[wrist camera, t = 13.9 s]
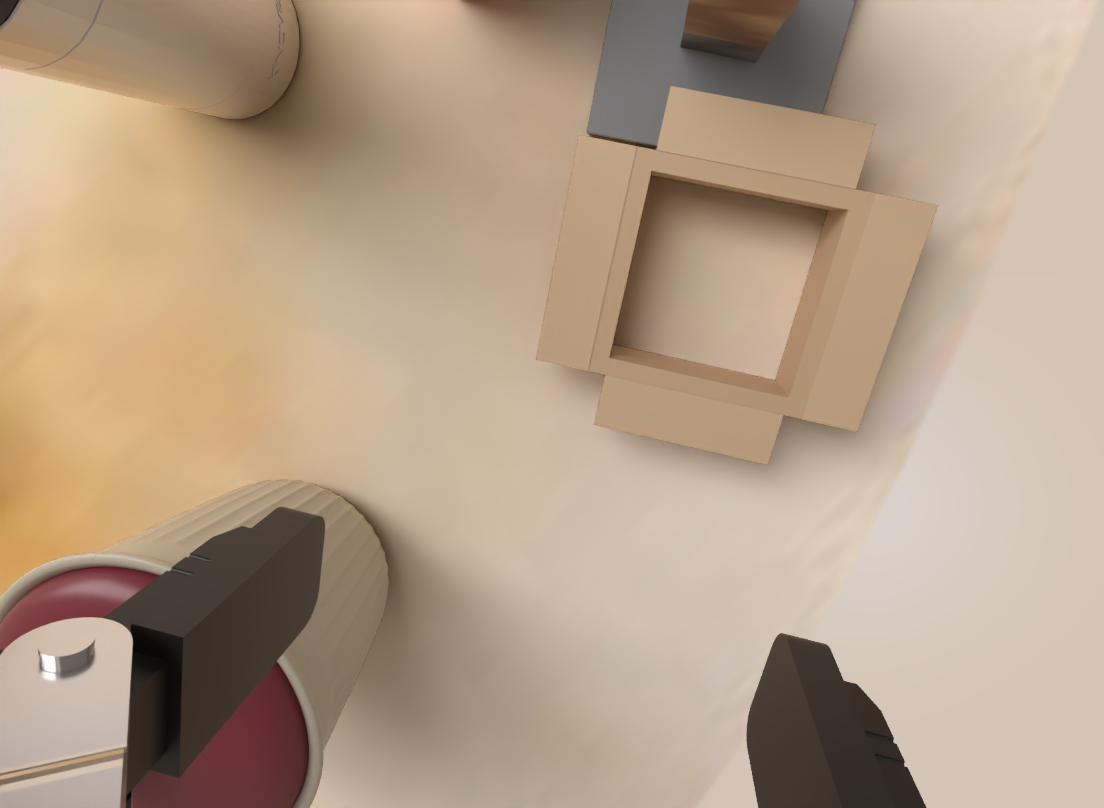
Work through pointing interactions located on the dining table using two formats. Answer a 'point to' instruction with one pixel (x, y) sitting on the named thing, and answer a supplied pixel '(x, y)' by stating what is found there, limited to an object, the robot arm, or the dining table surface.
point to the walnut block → (734, 26)
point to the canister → (293, 681)
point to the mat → (708, 65)
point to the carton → (828, 296)
